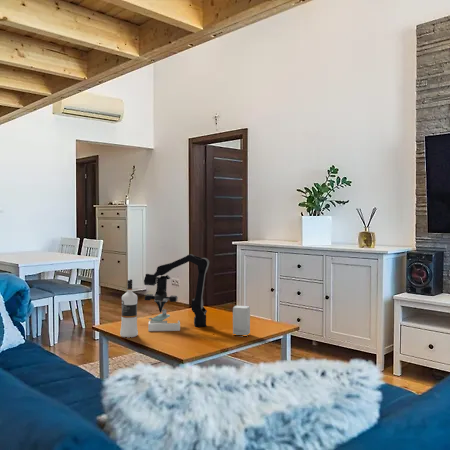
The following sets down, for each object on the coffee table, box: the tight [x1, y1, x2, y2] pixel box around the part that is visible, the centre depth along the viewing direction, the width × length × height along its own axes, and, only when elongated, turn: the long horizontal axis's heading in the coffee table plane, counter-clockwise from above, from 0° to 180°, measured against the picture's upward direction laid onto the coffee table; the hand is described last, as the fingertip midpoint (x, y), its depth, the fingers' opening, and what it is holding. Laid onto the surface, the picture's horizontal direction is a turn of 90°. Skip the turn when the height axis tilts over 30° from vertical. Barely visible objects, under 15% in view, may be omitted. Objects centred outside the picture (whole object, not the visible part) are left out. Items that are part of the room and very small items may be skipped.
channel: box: [147, 320, 181, 332], centre depth 263 cm, size 18×8×4 cm, turn 98°
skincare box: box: [232, 305, 251, 335], centre depth 254 cm, size 8×7×16 cm
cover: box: [148, 308, 171, 321], centre depth 271 cm, size 15×8×4 cm, turn 166°
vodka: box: [119, 279, 139, 339], centre depth 248 cm, size 9×9×30 cm
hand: (160, 312), depth 277 cm, fingers closed
